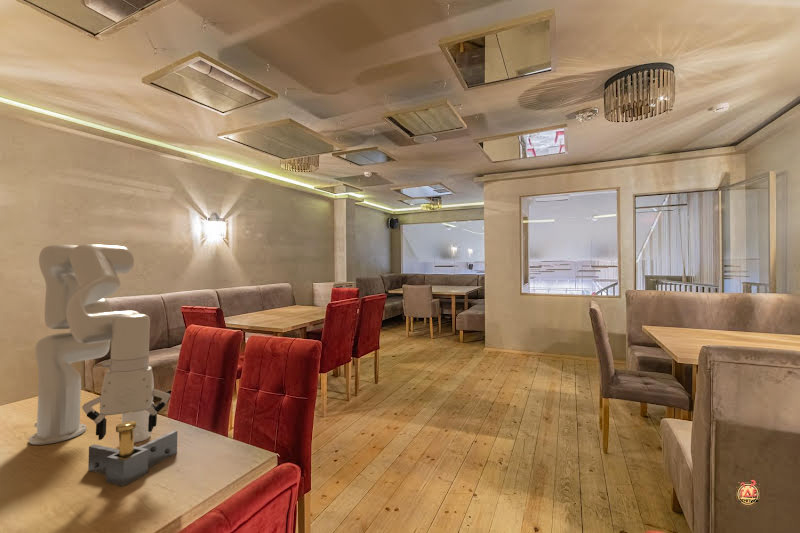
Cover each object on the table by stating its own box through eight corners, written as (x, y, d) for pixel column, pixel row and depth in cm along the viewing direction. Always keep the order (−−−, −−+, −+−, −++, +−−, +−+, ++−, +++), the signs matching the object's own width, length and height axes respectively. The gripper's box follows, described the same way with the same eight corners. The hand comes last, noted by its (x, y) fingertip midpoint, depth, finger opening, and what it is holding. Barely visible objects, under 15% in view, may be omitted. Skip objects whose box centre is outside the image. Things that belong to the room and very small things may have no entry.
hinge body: (77, 475, 86) (78, 450, 86) (141, 445, 101) (142, 425, 101) (123, 486, 81) (123, 460, 81) (183, 453, 96) (183, 432, 96)
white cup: (135, 445, 101) (136, 411, 101) (113, 443, 102) (114, 409, 103) (159, 433, 109) (160, 401, 109) (138, 431, 110) (139, 399, 110)
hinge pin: (112, 481, 83) (111, 427, 83) (129, 472, 87) (128, 420, 87) (124, 483, 82) (123, 429, 82) (140, 474, 86) (140, 421, 86)
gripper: (78, 372, 78) (75, 448, 78) (169, 364, 86) (167, 433, 86) (89, 363, 85) (86, 433, 85) (173, 357, 93) (170, 421, 93)
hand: (127, 433), depth 85 cm, fingers open, 9 cm apart
